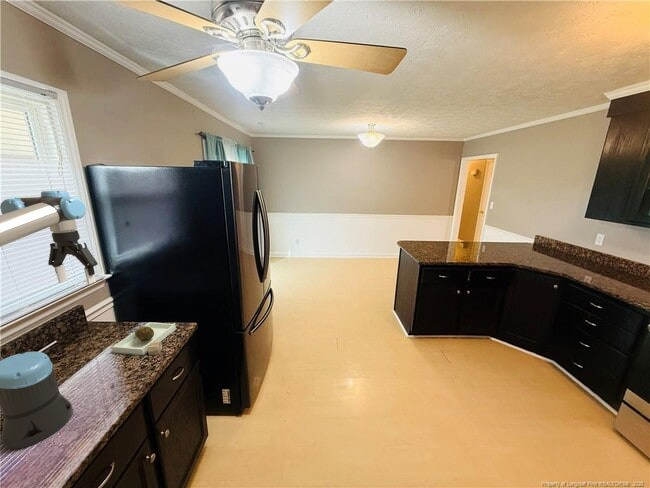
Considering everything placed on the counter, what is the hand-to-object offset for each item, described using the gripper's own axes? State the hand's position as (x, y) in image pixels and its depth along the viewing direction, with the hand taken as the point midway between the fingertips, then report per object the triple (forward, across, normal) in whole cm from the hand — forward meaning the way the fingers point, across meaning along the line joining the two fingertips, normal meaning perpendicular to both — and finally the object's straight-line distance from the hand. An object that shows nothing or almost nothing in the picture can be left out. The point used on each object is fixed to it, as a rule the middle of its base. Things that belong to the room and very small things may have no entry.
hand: (77, 282), depth 107 cm
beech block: (+35, -24, -6) cm, 43 cm away
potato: (+34, -13, -13) cm, 39 cm away
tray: (+35, -13, -14) cm, 39 cm away
